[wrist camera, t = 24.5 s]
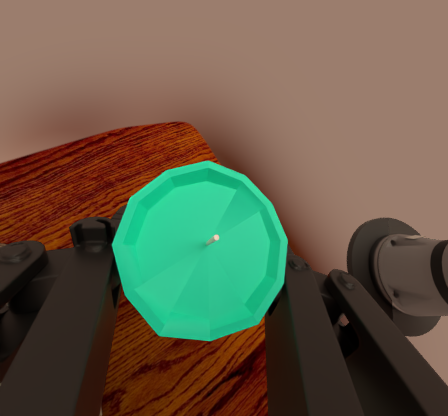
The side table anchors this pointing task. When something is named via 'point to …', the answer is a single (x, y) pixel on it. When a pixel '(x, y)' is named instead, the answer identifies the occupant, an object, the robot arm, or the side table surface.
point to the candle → (200, 252)
